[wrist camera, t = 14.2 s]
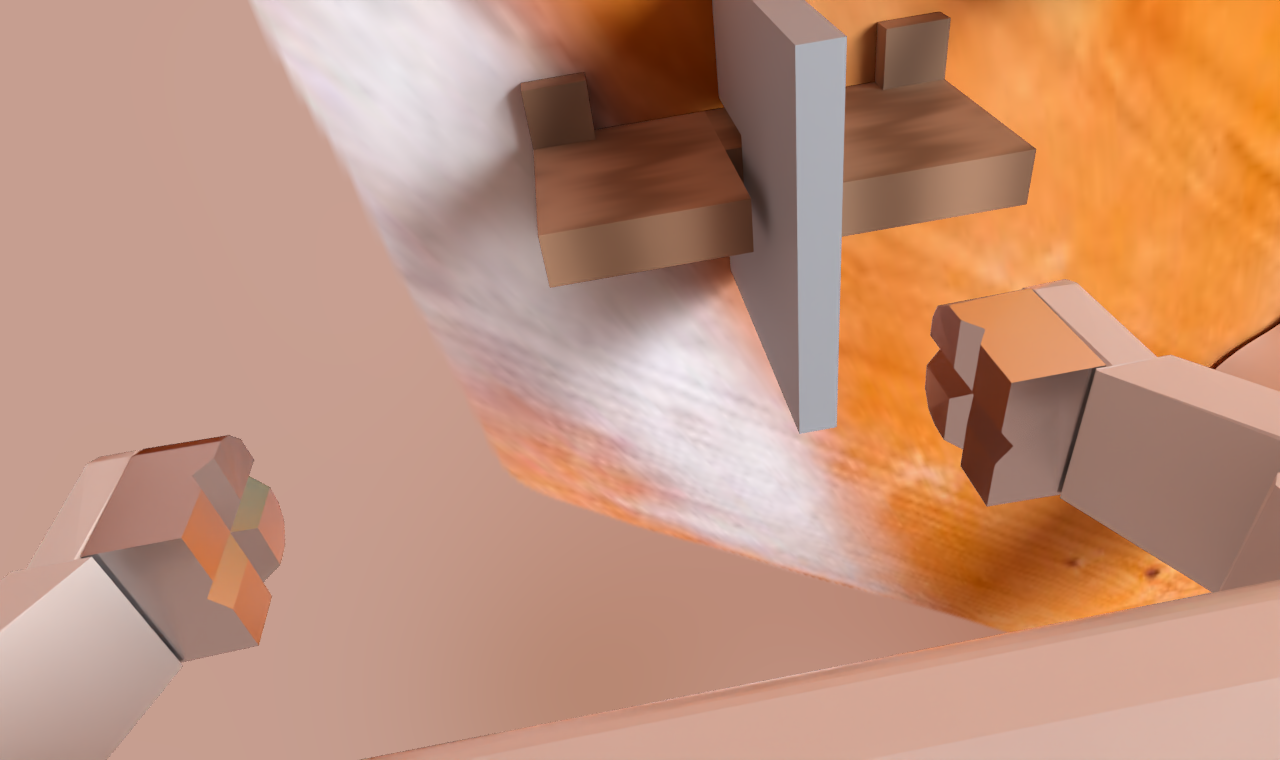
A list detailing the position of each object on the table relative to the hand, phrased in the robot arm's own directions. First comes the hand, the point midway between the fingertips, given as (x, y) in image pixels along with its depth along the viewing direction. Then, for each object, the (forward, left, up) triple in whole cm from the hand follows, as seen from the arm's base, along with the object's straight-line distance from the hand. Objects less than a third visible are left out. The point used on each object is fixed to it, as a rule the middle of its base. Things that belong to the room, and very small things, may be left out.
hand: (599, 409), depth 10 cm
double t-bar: (-8, +10, -32) cm, 34 cm away
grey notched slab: (-8, +10, -32) cm, 34 cm away
